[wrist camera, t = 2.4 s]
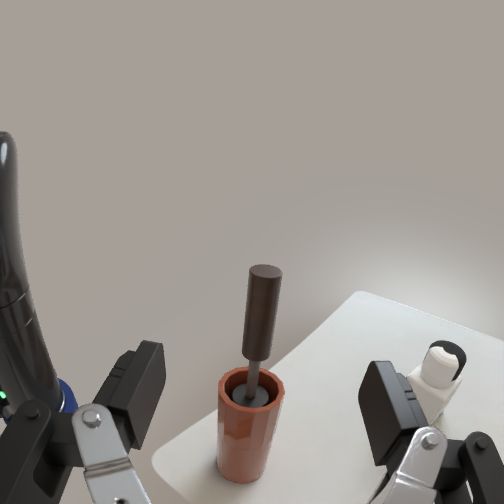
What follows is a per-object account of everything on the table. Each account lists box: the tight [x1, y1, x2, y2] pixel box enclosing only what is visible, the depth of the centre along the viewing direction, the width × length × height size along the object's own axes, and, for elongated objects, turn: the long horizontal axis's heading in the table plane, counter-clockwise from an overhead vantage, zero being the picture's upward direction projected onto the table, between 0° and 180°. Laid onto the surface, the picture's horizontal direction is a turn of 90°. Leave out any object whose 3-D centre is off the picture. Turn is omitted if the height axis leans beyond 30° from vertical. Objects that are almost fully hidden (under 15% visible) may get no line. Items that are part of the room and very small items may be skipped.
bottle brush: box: [232, 265, 282, 408], centre depth 24 cm, size 3×3×17 cm
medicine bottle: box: [406, 340, 466, 426], centre depth 35 cm, size 7×7×12 cm
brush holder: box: [217, 366, 285, 483], centre depth 27 cm, size 6×6×14 cm
